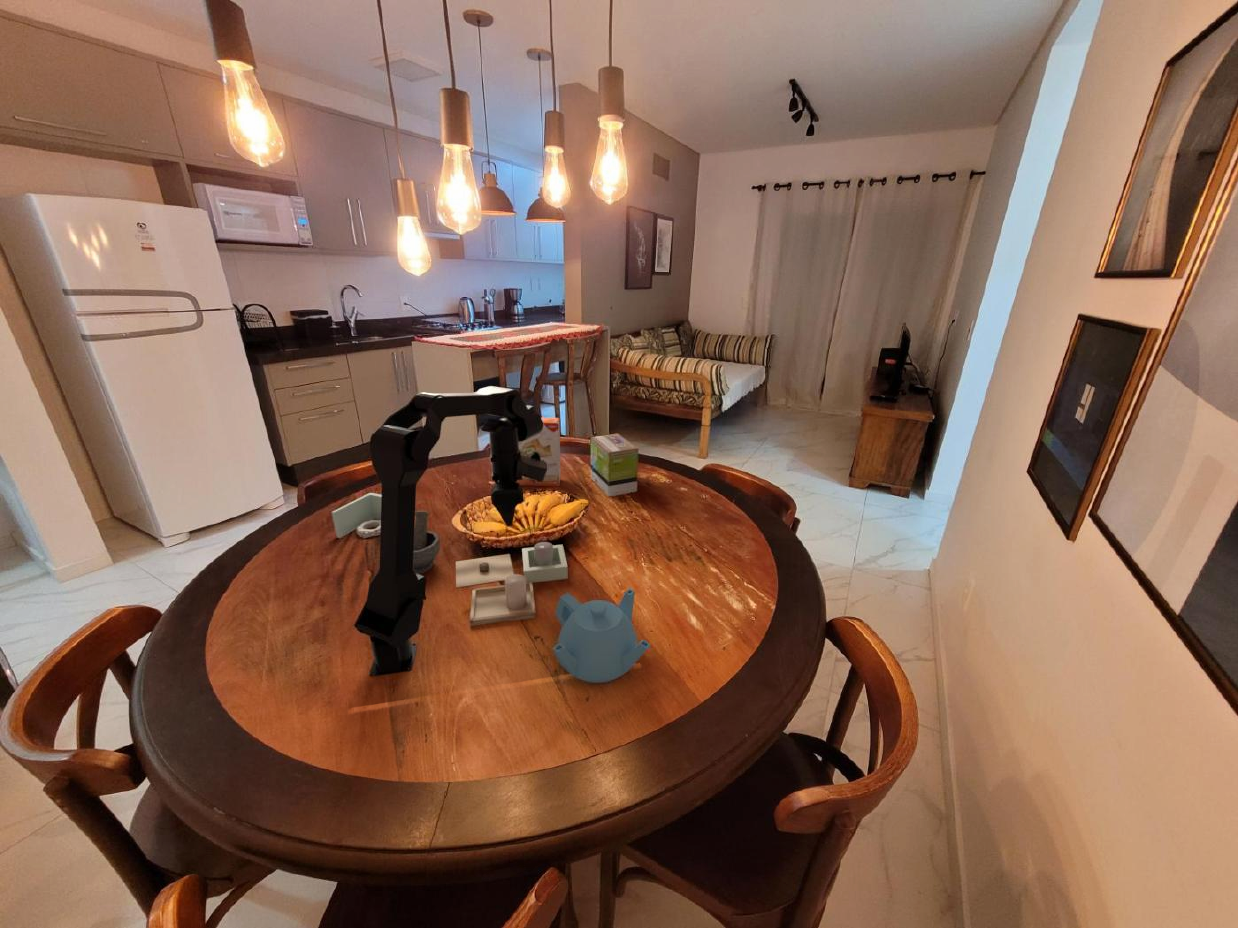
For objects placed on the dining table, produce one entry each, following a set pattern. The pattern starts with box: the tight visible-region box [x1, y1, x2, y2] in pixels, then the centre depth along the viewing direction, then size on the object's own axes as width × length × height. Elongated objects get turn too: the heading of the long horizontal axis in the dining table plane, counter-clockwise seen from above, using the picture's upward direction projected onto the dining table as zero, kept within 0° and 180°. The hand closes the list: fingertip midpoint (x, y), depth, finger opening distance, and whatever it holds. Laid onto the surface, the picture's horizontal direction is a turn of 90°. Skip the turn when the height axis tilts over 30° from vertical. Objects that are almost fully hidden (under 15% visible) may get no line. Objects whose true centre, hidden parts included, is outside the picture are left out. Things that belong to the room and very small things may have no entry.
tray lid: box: [455, 553, 515, 589], centre depth 105 cm, size 10×12×2 cm
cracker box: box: [516, 417, 561, 487], centre depth 148 cm, size 14×6×21 cm, turn 93°
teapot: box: [552, 588, 652, 684], centre depth 81 cm, size 15×15×11 cm
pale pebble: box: [504, 573, 527, 610], centre depth 94 cm, size 4×4×6 cm
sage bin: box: [521, 544, 569, 584], centre depth 106 cm, size 9×9×4 cm
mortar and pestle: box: [413, 510, 441, 575], centre depth 105 cm, size 11×9×12 cm
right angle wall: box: [331, 492, 382, 539], centre depth 120 cm, size 12×12×8 cm
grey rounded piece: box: [533, 541, 554, 567], centre depth 106 cm, size 4×4×6 cm
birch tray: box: [469, 582, 537, 627], centre depth 95 cm, size 10×12×2 cm
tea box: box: [590, 433, 639, 497], centre depth 148 cm, size 15×10×15 cm, turn 25°
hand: (509, 515), depth 104 cm, fingers open, 9 cm apart
